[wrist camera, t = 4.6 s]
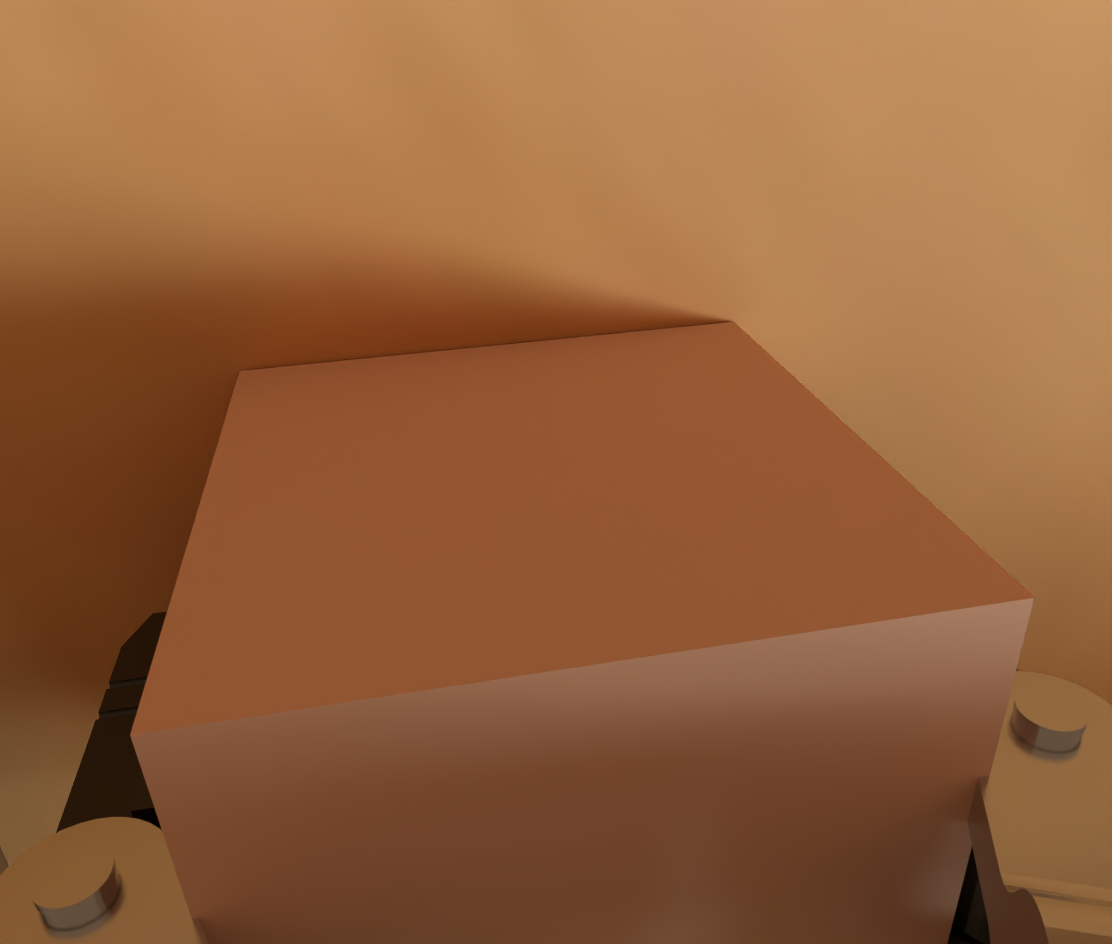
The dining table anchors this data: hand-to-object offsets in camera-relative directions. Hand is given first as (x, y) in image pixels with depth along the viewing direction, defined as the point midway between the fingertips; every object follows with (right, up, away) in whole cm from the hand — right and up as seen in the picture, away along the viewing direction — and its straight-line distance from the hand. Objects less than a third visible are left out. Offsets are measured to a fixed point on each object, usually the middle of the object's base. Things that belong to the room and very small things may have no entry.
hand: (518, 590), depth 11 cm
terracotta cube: (0, 0, +1) cm, 1 cm away
